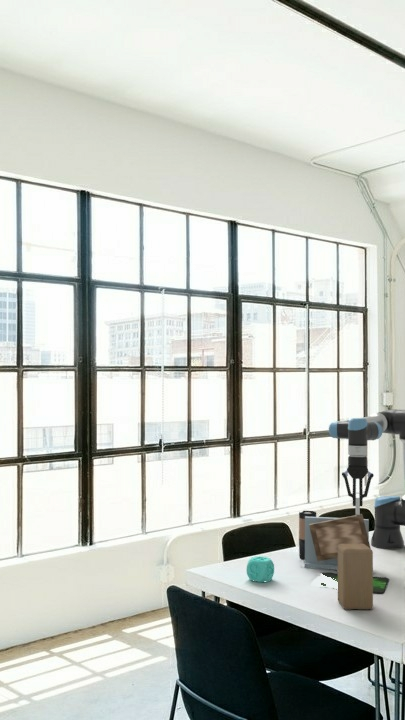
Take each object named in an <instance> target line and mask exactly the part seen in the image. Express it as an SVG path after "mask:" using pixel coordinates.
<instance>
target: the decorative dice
mask: <svg viewBox="0 0 405 720" xmlns="http://www.w3.org/2000/svg"><path fill="white" fill-rule="evenodd" d="M274 574H275V564H274V562H273V560H272V559H271V558H269V557H267V556H253V557H251V558H249V560H248V562H247V564H246V575H247V577H248V579H249V580H250V581H251V580H254V581H258V582H257V583H260V582H263V583H265V582H264V581H269V580H270V581H271V580H272V579H273V578H274ZM270 581H269V582H270Z"/></svg>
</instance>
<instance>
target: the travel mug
mask: <svg viewBox="0 0 405 720" xmlns="http://www.w3.org/2000/svg"><path fill="white" fill-rule="evenodd" d="M305 516H306V517H317V511H314V510H303V511H301V512H300V511H298V548H299V549H298V550H299V551H298V552H299V553H298V554H299V555H298V556H299V559H300V560H303V561H305Z"/></svg>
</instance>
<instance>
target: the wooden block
mask: <svg viewBox="0 0 405 720" xmlns="http://www.w3.org/2000/svg"><path fill="white" fill-rule="evenodd" d="M370 548H371V547H370ZM370 548H369V547H368V546H366V545H365V544H339V545H338V569H337V573H338V590H337V602H339V604H340V605H341V607H342V608H343V609H344V610H346V609H370V610H373V608H374V593H373V577H374V574H373V573H374V559H373V558H374V555H373V554H374V552H373V550H372V548H371V549H370Z"/></svg>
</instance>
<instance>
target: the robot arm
mask: <svg viewBox="0 0 405 720" xmlns="http://www.w3.org/2000/svg"><path fill="white" fill-rule="evenodd" d="M328 434H329V436H330V437H331V438H333V439H344V440H348V444H347V455H349V456H348V457H347V461H348V462H347V463H348V464H347V468H346V470H345V471H344V472H343V471H342V472H341V476H342V477H343V479H344V483H345V486H346V492H347V496H348V497H350V498H351V499H352V506H353V507H355V515H360V514H361V513H360V512H361V511H360V507H363V506H364V505H363V499H364V498H367V497H368V493H369V490H370V487H371V486H370V485H371V481H372V479H373V477H374V476H375V475H374V473H373V472H370V471H369V468H368V457H367V456H368V441H376V440H379V439H380V438H381V437H382V436H383V434H391V435H398V436H399V440H400V441H401V442H402V452H403V453H402V455H403V456H402V457H403V481H404V482H403V484H404V485H403V487H404V488H403V489H404V494H403V495H402V496H401V497H400V495H386V496H379V497H376V498H375V500H374V507H373V508H374V530H373V533H372V537H371V538H370V546H372V547H374V548H379V549H387V550H397V549H404V548H405V541H404V538H403V534H402V531H401V526H404V527H405V409H395V408H394V409H388V410H382V411H378V412H374V413H373V414H371V415H370V416H365V417H350V418H348V419H347V420H340V421H339V420H333V421H331V422H330V423H329V425H328ZM366 475H367V480H366V483H365V489H364V491H363V479H364V478H365V476H366ZM348 476H350V477H351V478H352V492H351V488H350V484H349V479H348ZM357 480H358V482H359V483H358V484H359V485H358V490H359V492H358V493H359V497H357Z"/></svg>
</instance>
